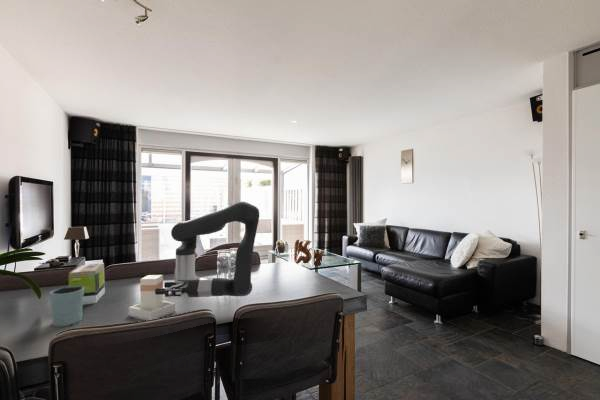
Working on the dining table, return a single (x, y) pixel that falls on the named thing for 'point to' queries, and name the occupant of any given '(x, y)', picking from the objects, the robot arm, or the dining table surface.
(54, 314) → the light blue cup
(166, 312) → the white rectangular dish
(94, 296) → the tea box
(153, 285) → the carton
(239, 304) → the dining table surface
